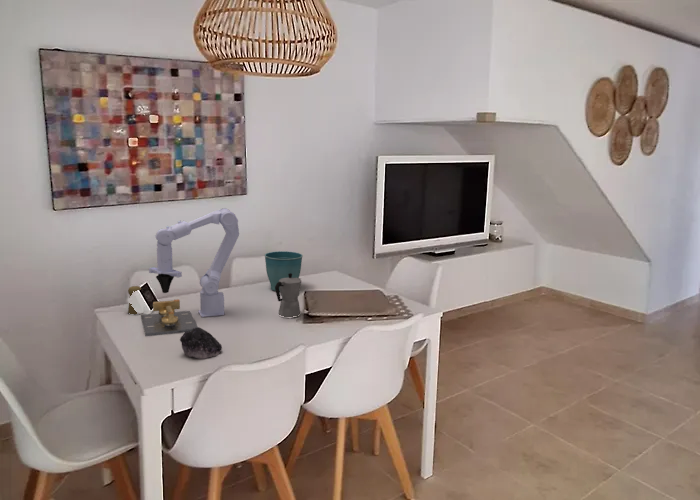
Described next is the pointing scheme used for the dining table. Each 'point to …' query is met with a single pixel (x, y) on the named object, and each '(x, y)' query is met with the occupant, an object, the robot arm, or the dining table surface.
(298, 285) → the coffeepot
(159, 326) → the plate
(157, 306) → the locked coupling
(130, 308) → the cork
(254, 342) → the dining table surface
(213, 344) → the crystal cluster
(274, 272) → the flower pot
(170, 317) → the brass lever handle
